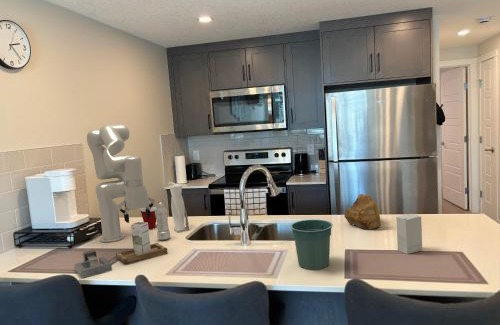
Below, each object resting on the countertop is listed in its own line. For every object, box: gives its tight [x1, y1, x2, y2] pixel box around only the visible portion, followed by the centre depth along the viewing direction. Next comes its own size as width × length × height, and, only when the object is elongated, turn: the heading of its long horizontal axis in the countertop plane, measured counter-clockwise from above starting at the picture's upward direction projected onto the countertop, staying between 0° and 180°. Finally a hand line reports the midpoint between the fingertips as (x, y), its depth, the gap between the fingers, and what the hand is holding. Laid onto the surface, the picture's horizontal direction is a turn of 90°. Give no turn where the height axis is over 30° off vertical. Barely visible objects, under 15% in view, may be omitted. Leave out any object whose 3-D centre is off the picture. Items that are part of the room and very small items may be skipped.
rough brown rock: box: [343, 193, 381, 230], centre depth 201 cm, size 23×17×15 cm
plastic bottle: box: [155, 201, 171, 241], centre depth 200 cm, size 6×7×20 cm
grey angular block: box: [82, 249, 99, 267], centre depth 170 cm, size 9×5×4 cm, turn 36°
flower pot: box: [290, 218, 334, 270], centre depth 151 cm, size 16×16×16 cm
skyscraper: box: [168, 182, 190, 233], centre depth 216 cm, size 8×8×28 cm
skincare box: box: [396, 213, 423, 255], centre depth 158 cm, size 8×6×15 cm
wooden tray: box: [115, 242, 169, 266], centre depth 177 cm, size 12×20×2 cm, turn 126°
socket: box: [74, 256, 113, 279], centre depth 162 cm, size 12×12×3 cm
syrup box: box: [130, 221, 151, 255], centre depth 176 cm, size 6×6×14 cm
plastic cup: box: [139, 206, 158, 230], centre depth 226 cm, size 11×11×12 cm
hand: (137, 220), depth 176 cm, fingers open, 9 cm apart
